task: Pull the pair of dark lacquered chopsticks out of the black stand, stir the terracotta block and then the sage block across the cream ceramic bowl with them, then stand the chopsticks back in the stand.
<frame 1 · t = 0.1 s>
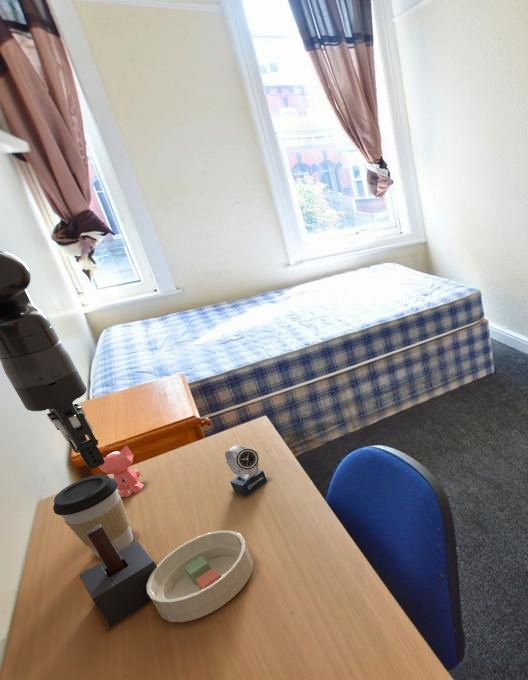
hand: (90, 457, 80), 26 cm above the table, tool pointing down, fingers open, 8 cm apart
sage block: (201, 576, 87), point 1 cm above the table, touching bowl
chopsticks: (114, 563, 82), in the stand
bowl: (208, 584, 86), on the table
cat figurine: (132, 492, 113), on the table
watch: (251, 487, 111), on the table
terracotta block: (213, 589, 84), point 1 cm above the table, touching bowl
coffee cup: (115, 546, 97), on the table
stand: (132, 595, 85), on the table
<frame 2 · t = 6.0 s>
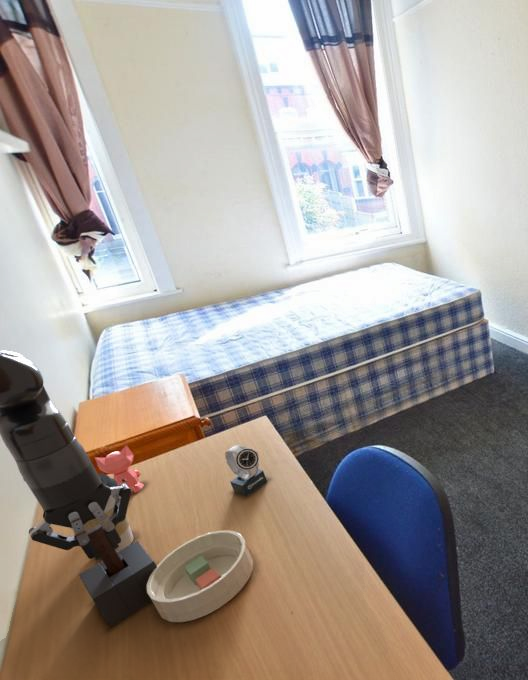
hand: (106, 550, 80), 11 cm above the table, tool pointing down, fingers closed on chopsticks
chopsticks: (113, 563, 82), in the stand, touching gripper
everything else where it was.
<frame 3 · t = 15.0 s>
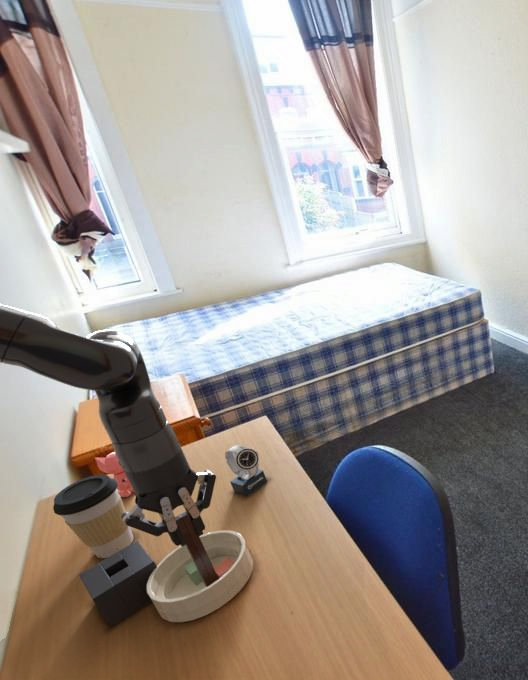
hand: (191, 538, 79), 13 cm above the table, tool pointing down, fingers closed on chopsticks
chopsticks: (197, 551, 80), point 10 cm above the table, touching gripper, terracotta block
terracotta block: (229, 578, 86), point 1 cm above the table, touching bowl, chopsticks
everything else where it was.
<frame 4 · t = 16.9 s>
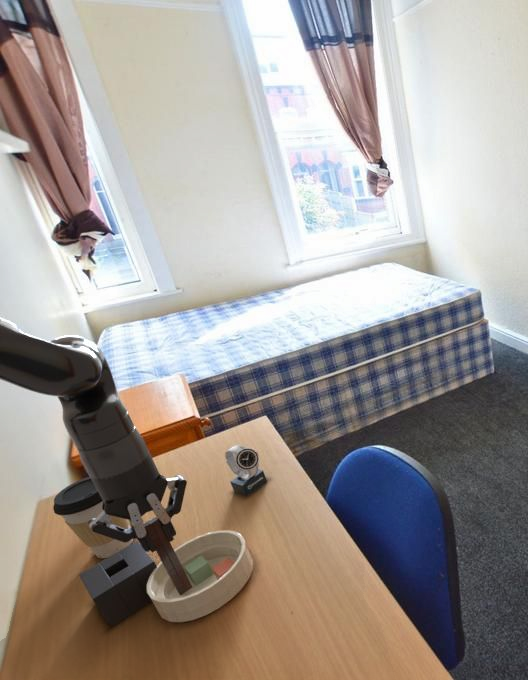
hand: (161, 543, 79), 13 cm above the table, tool pointing down, fingers closed on chopsticks
chopsticks: (168, 557, 80), point 10 cm above the table, touching gripper
terracotta block: (229, 578, 86), point 1 cm above the table, touching bowl
everything else where it was.
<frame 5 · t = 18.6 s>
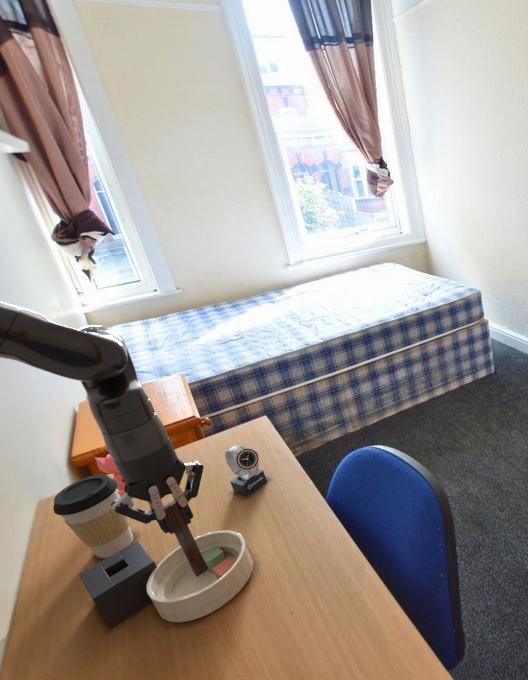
hand: (179, 526, 82), 13 cm above the table, tool pointing down, fingers closed on chopsticks
sage block: (216, 565, 89), point 1 cm above the table, touching bowl, chopsticks
chopsticks: (185, 539, 83), point 10 cm above the table, touching gripper, sage block
everything else where it was.
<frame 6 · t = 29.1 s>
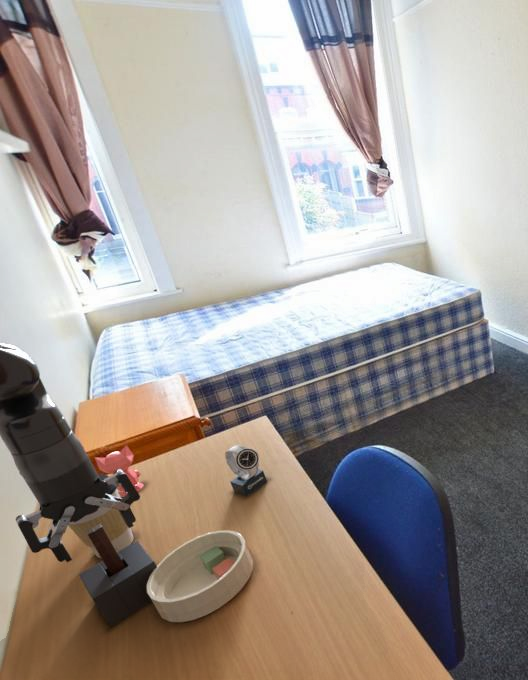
hand: (100, 541, 80), 13 cm above the table, tool pointing down, fingers open, 8 cm apart
sage block: (216, 565, 89), point 1 cm above the table, touching bowl
chopsticks: (114, 563, 82), in the stand
everything else where it was.
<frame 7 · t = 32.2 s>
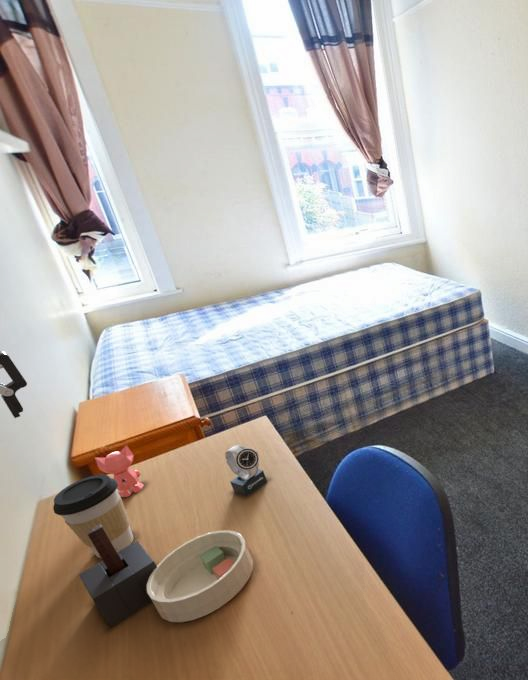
nothing on the table moved.
at the end: terracotta block moved 2.8 cm from its start; sage block moved 2.7 cm from its start; chopsticks 0.0 cm off-centre in the stand, point 8.0 cm above the stand's base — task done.
